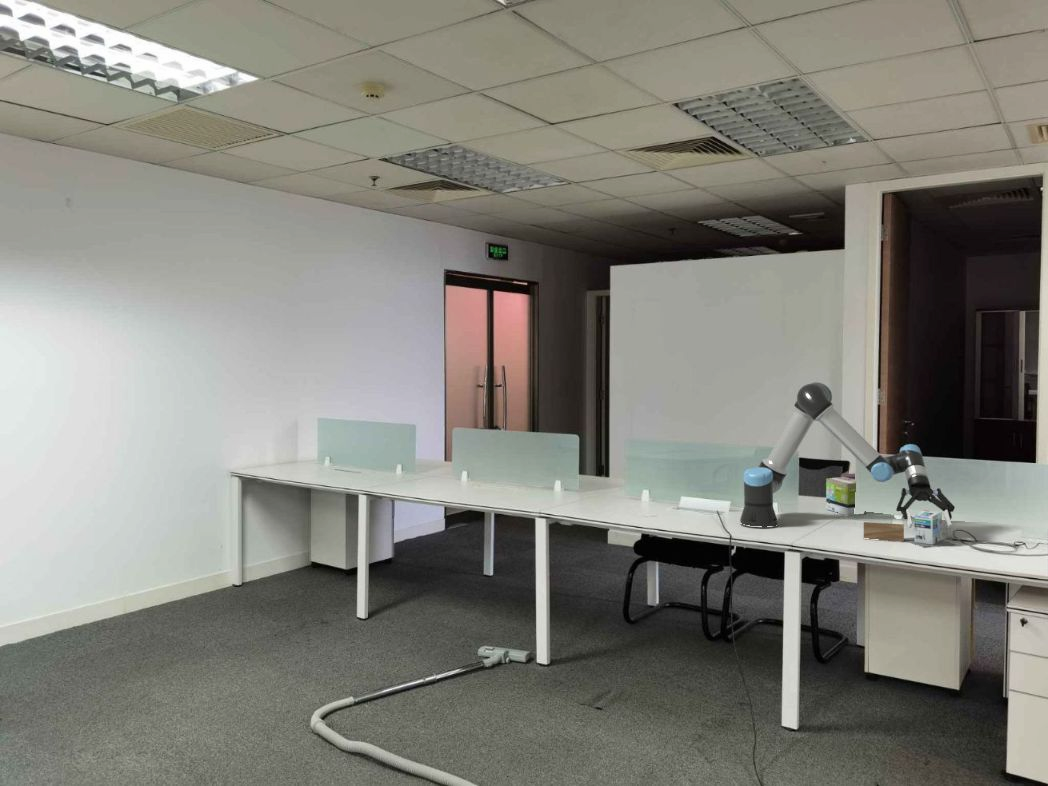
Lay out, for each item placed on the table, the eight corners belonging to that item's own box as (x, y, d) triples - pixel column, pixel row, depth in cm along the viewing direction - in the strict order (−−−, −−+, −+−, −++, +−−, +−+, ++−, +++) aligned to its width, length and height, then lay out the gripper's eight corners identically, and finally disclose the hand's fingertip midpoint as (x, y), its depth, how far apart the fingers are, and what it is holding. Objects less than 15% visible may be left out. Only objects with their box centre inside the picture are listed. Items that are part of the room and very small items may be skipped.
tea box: (825, 510, 364) (825, 477, 363) (843, 508, 367) (843, 476, 366) (847, 516, 350) (847, 482, 349) (866, 514, 353) (866, 481, 352)
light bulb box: (933, 545, 295) (933, 516, 294) (913, 542, 300) (913, 514, 299) (942, 539, 302) (942, 511, 302) (923, 537, 307) (923, 509, 307)
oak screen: (903, 542, 302) (903, 525, 302) (863, 539, 308) (863, 522, 308) (903, 541, 303) (903, 524, 303) (863, 538, 309) (863, 521, 309)
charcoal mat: (923, 547, 294) (923, 546, 294) (901, 539, 306) (901, 538, 306) (955, 545, 296) (955, 544, 296) (931, 537, 309) (931, 536, 308)
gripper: (949, 485, 313) (963, 532, 299) (881, 485, 317) (892, 531, 303) (954, 474, 307) (968, 521, 293) (885, 473, 312) (896, 520, 298)
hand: (929, 526), depth 298 cm, fingers open, 13 cm apart
